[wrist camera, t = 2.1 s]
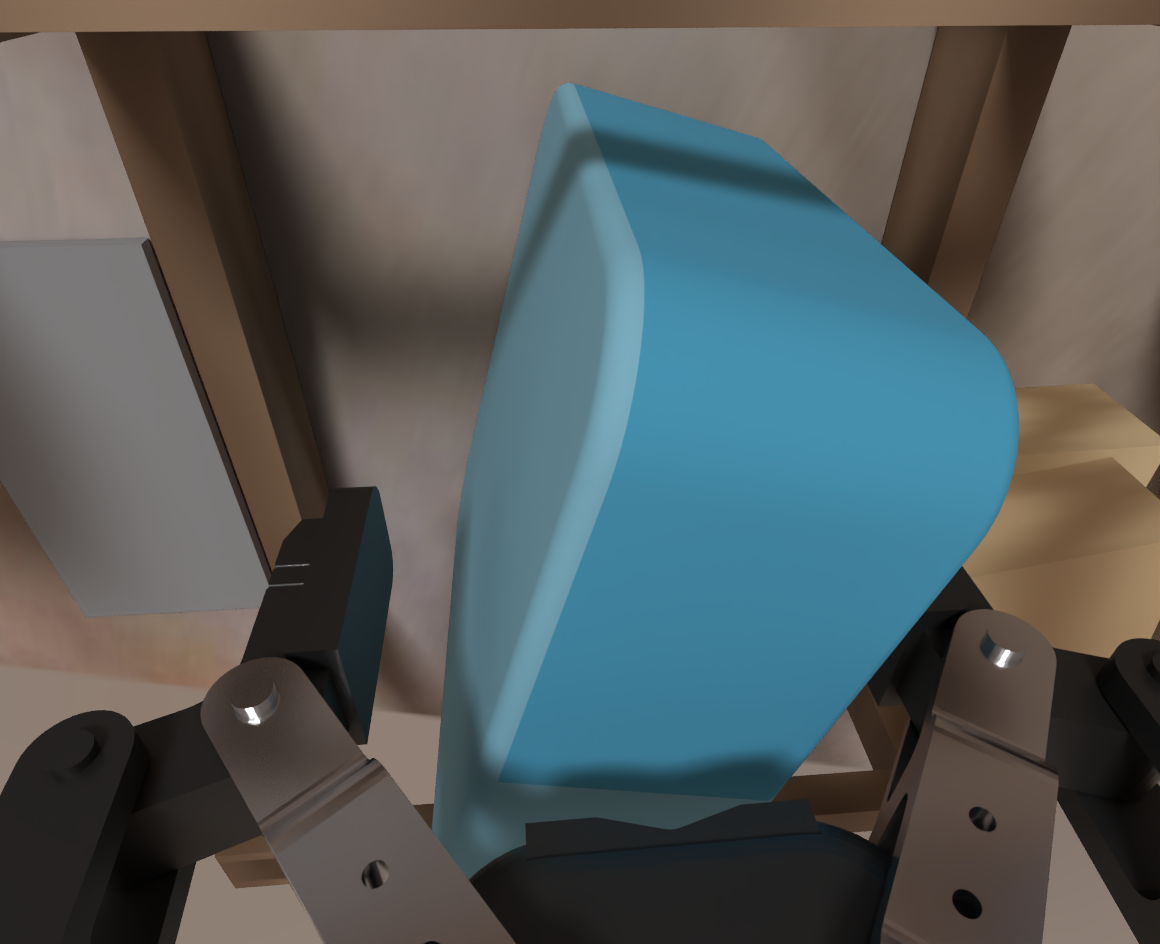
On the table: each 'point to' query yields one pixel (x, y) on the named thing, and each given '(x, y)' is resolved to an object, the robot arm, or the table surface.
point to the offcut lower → (1081, 431)
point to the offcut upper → (1075, 556)
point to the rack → (266, 3)
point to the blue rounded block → (695, 482)
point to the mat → (116, 435)
